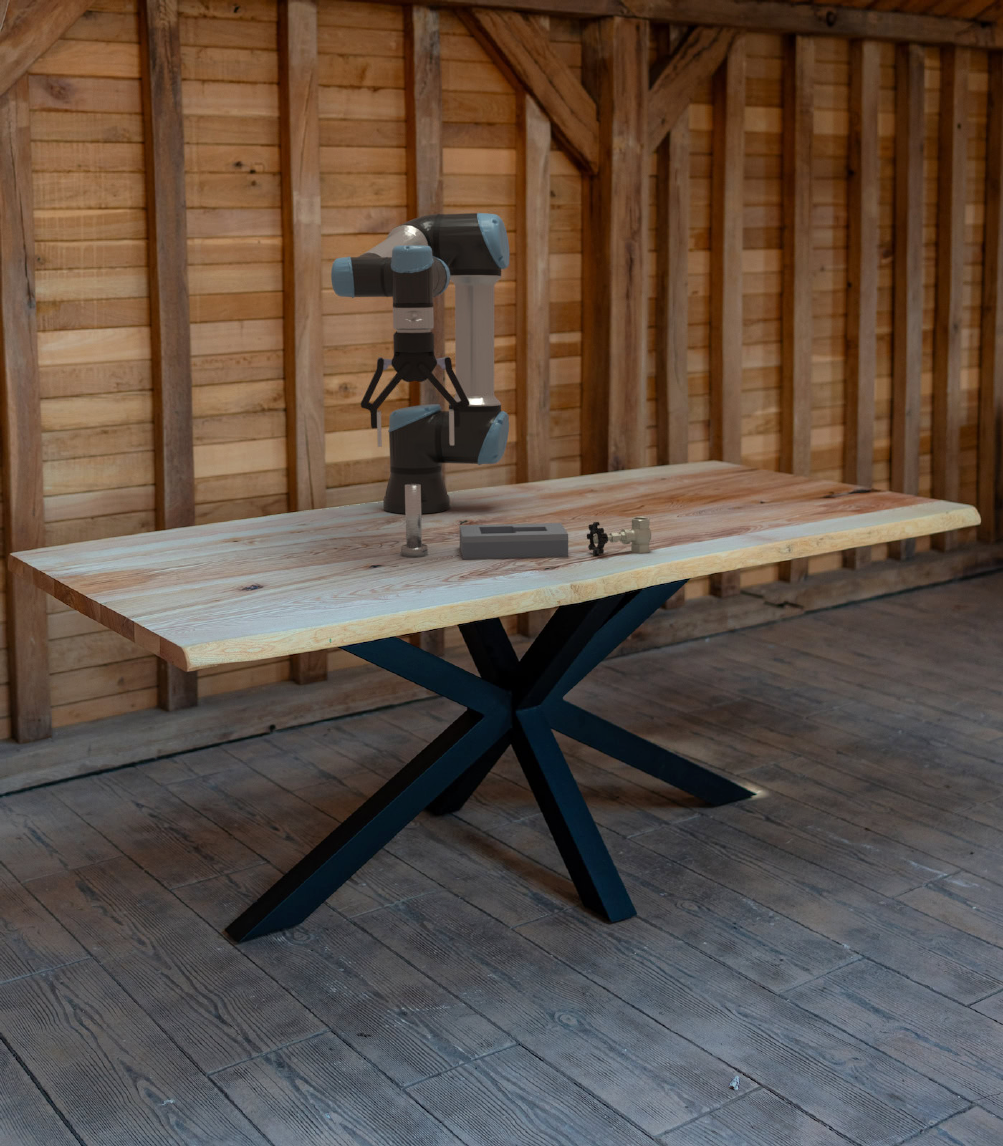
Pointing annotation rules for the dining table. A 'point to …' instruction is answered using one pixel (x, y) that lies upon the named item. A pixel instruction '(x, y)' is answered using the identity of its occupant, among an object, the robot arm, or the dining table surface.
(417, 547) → the flanged metal peg
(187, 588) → the dining table surface
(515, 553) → the keyhole board
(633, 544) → the valve
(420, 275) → the robot arm
